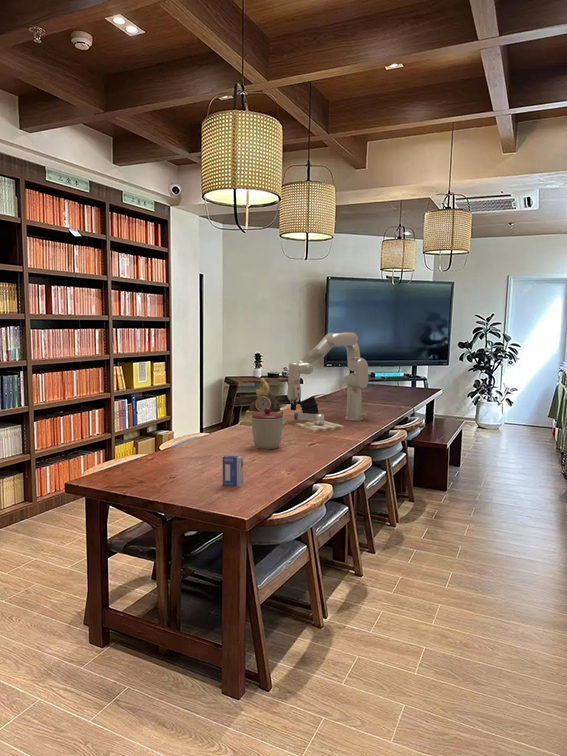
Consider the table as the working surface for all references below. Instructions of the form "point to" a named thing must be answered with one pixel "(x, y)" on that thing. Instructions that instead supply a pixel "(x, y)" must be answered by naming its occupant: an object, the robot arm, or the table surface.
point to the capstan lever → (310, 417)
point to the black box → (309, 406)
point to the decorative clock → (263, 404)
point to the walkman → (233, 471)
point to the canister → (267, 429)
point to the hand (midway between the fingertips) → (293, 409)
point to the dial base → (319, 426)
